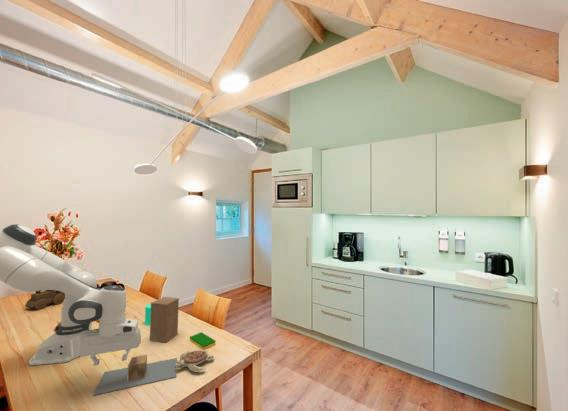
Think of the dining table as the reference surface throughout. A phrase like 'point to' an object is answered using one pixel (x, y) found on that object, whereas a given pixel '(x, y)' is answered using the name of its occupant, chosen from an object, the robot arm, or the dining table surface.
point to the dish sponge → (202, 341)
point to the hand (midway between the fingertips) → (110, 362)
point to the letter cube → (137, 367)
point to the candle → (147, 314)
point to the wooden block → (164, 319)
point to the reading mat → (119, 379)
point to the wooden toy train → (45, 299)
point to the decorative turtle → (193, 360)
